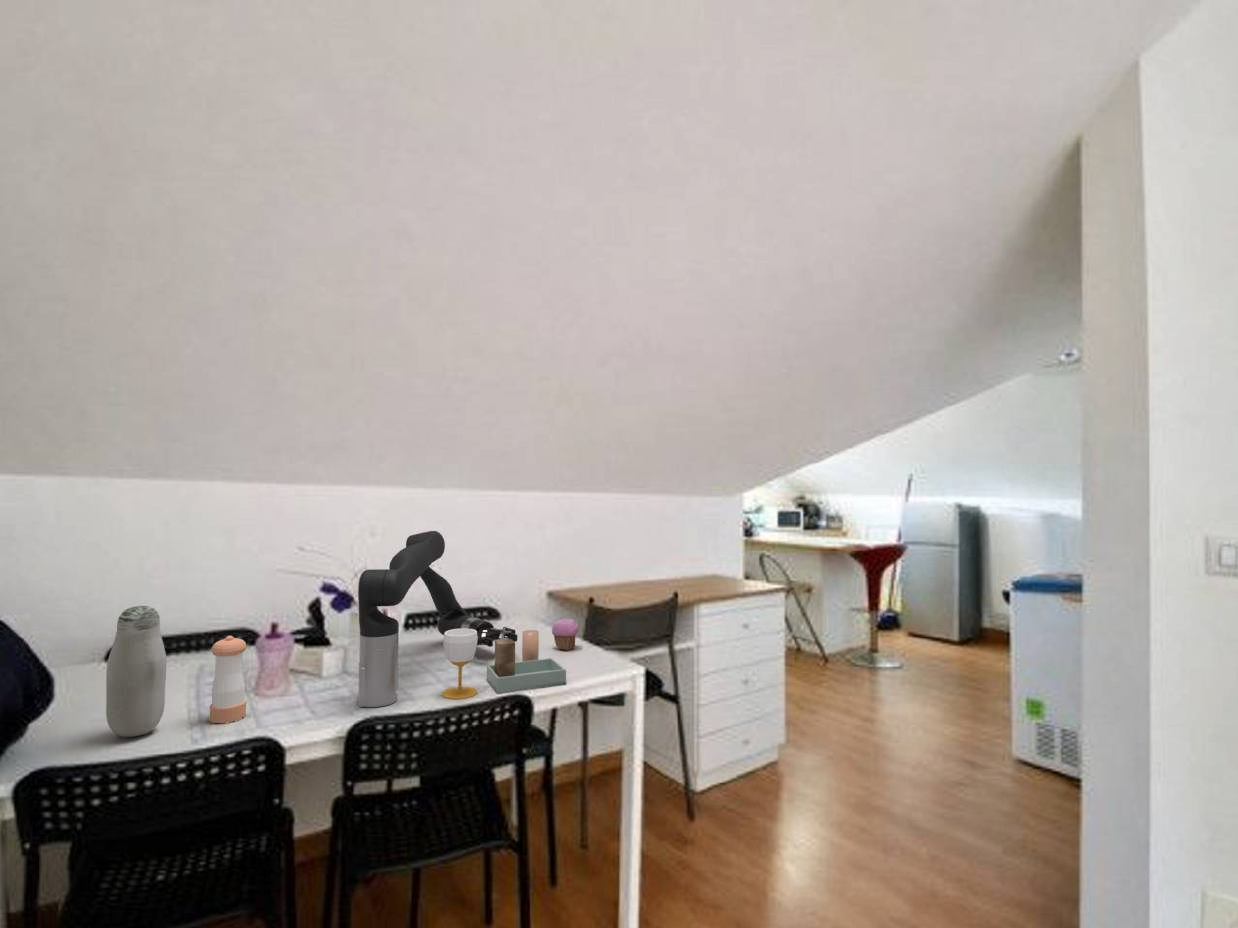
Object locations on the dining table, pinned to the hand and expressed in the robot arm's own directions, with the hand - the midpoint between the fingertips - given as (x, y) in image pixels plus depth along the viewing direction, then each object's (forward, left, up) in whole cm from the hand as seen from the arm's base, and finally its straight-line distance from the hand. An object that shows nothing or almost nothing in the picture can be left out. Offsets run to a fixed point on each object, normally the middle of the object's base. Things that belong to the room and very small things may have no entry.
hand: (504, 640), depth 194 cm
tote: (+2, -18, -7) cm, 20 cm away
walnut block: (-5, -18, -6) cm, 20 cm away
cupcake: (+23, +10, -7) cm, 26 cm away
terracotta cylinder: (+6, -7, -7) cm, 12 cm away
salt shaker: (-70, -16, -7) cm, 72 cm away
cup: (-17, -20, -7) cm, 28 cm away
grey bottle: (-87, -19, -7) cm, 89 cm away
